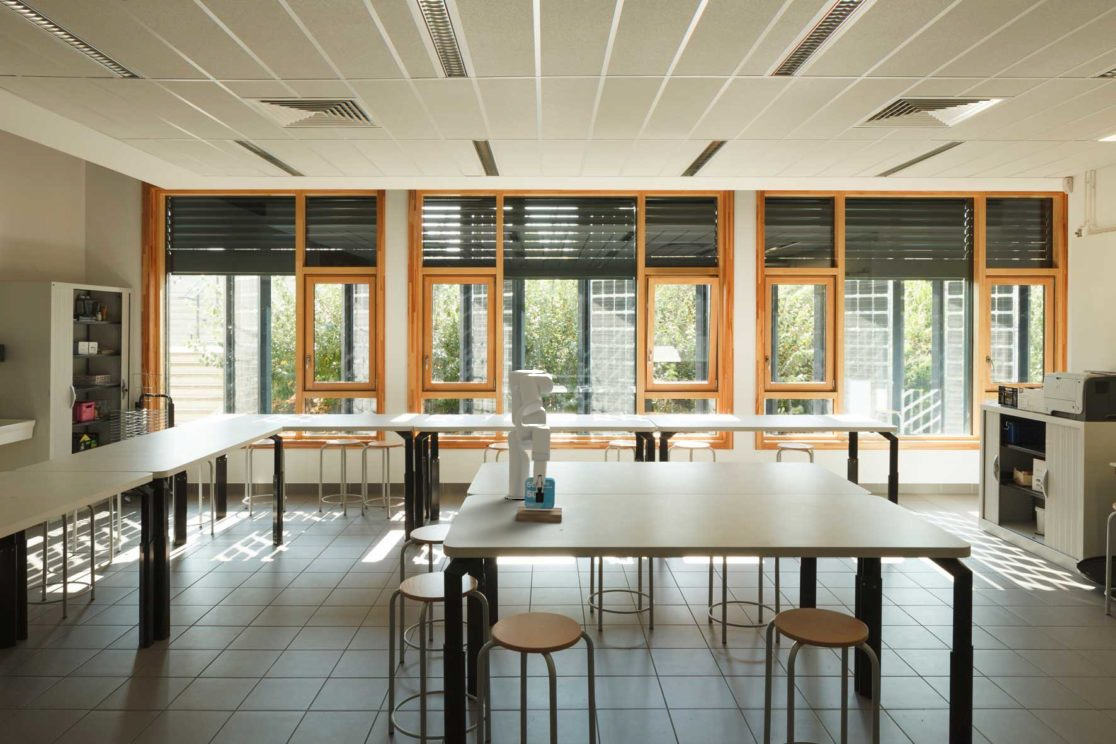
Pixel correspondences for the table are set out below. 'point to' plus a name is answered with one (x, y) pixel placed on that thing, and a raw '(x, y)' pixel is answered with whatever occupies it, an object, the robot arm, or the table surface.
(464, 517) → the table surface
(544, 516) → the base plate
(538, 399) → the robot arm
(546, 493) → the data package
